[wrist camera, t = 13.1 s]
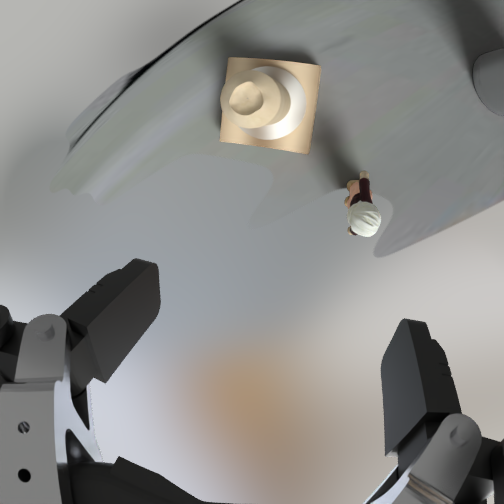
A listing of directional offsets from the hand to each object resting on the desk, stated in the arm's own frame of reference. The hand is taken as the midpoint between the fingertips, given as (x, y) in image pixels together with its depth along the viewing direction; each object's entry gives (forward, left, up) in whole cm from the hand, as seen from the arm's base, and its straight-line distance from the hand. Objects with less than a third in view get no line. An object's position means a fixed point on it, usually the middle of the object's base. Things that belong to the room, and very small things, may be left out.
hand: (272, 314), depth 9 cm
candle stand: (+7, -7, -32) cm, 33 cm away
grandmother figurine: (-6, +3, -32) cm, 33 cm away
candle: (+6, -7, -28) cm, 30 cm away
